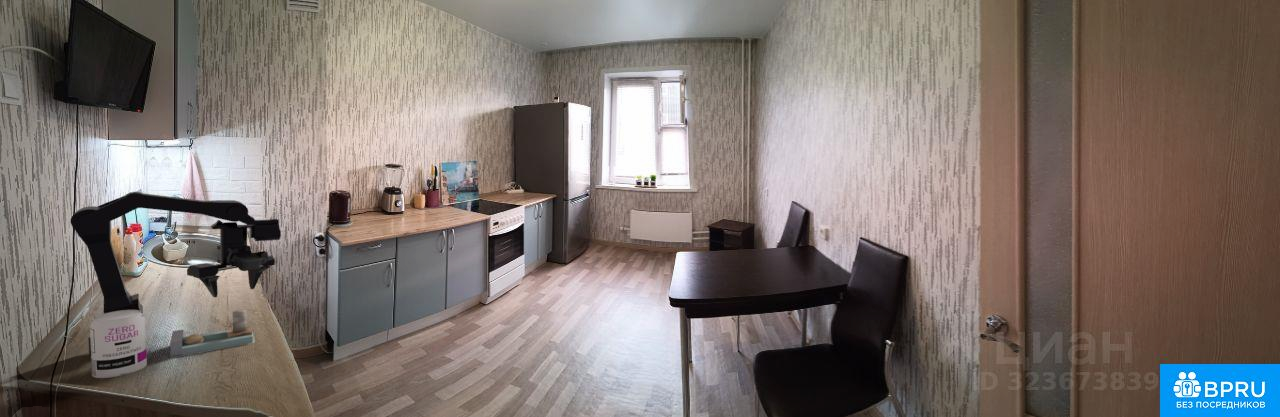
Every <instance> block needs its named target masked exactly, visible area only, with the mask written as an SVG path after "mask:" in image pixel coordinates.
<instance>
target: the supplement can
mask: <svg viewBox="0 0 1280 417" xmlns="http://www.w3.org/2000/svg"><path fill="white" fill-rule="evenodd" d="M146 318H147V317H146V315H145V314H144V313H141V311H140V310H121V311H114V312H109V313H105V314H104V313H103V314H99V315H97V316H95V317H94V318H93V320H92V322H90V325H89V337H90V340H91V357H90V358H91V360H90V361H91V376H92V377H93V378H96V379H106V378H108V379H109V378H116V377H120V376H125V375H129V374H131V373H134V372H138V371H140V370H142V369H144V368H145V367H146V366H147V365H148V354H147V353H148V352H147V351H148V350H147V348H148V347H147V324H146Z"/></svg>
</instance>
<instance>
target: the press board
mask: <svg viewBox="0 0 1280 417" xmlns="http://www.w3.org/2000/svg"><path fill="white" fill-rule="evenodd" d="M227 330H228V329H226V330H220V331H219V330H218V331H213V332H207V333H201V334H199V335H201V336H202V337H203V342H202V343H200V344H194V345H188V346H185V344H184V346H182V355H181V356H175V357H171V356H170V359H174V358H179V357H184V356H190V355H195V354H196V355H197V354H200V353H206V352H211V351H218V350H223V349H229V348H234V347H240V346H246V345H249V344H255V343H256V340H255V336H254V335H255V334H254V331H253V330H252V335H246V336H240V337H234V338H229V339H227ZM187 337H188V336H184V341H185V339H186V338H187Z"/></svg>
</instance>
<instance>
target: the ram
mask: <svg viewBox="0 0 1280 417" xmlns="http://www.w3.org/2000/svg"><path fill="white" fill-rule="evenodd" d="M226 330H227V339H229V338H234V337H240V336H246V335H252V331H253V330H252V326H251V325H250V326H247V309H235V310H233V311H232V329H226Z"/></svg>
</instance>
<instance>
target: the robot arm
mask: <svg viewBox="0 0 1280 417" xmlns="http://www.w3.org/2000/svg"><path fill="white" fill-rule="evenodd" d="M137 209H149V210H159V211H169V212H175V213H176V212H178V213H185V214H186V213H187V214H196V215H204V216H208V217H212V218H215V219H217V220H216V221H215V222H214V223H213V224H211V225H210V228H211V229H212V230H220V232H219V233H220V234H219V235H220V236H219V238H220V239H219V243H220V244H219V245H217V246H216V249H217V250H220V251H219V252H220V255H219V256H220V257H219V258H218V259H216V261H217V262H216V263H218V264H211V263H206V262H203V263H198V264H191V265H189V267H187V269H186V275H187V276H189V277H193V278H196V279H199V280H200V281H201V282H202V284H204V286H205V287H206V289H207V290H208V292H209V293H210V295H211V296H212V297H213V298H218V293H219V292H218V280H219V278H220V275H218V274H219V272H221V271H226V270H232V269H239V271H240V272H241V271H242V272H247V276H248V285H249V289H250V290H254V289H255V288H256V286H257V284H258V282H259V279H260V277H261V276H262V274H263V272H265V271H266V270H267V269H271V266H275V265H276V259H275V257H274V255H273V256H271V255H269V253H268V252H267V251H265V250H262V251H257V252H252V247H251V245H249V244H248V234H249V238H250V239H253V240H254V242H267V241H279V240H281V235H282V234H281V233H282V231H281V229H280V228H281V226H280V223H279V219H278V218H270V219H255V218H254V217H253V216H250V215H249V209H248V207H247V206H246V205H245V204H243V203H242V201H239V200H232V199H229V200H226V199H222V200H221V199H218V200H217V199H216V200H215V199H213V200H199V199H194V198H193V199H191V198H184V197H183V198H182V197H175V196H170V195H169V196H167V195H159V194H152V193H151V194H150V193H145V192H140V191H132V192H131V191H130V192H128V193H126V194H125V195H123V196H121V197H117V198H115V199H112V200H110V201H107V202H105V203H102V204H100V205H98V206H94V205H93V206H86V207H85V206H84V207H82V208H79V209H78V210H77V211H76V212H74V213H73V215H72V216H71V218H70V224H71V227H72V228H73V229H74V231H75V232H76V234H77V236H78V237H79V238H80V239H81V240H82V241H83V244H85V246H86V247H87V249H88V253H89V257H90V259H91V263H92V265H93V267H94V268H93V269H94V272H95V275H96V278H97V280H98V284H99V287H100V289H101V290H100V291H101V293H102V296H103V314H105V313H109V312H114V311H121V310H140V311H141V313H142V314H144V309H143V308H144V305H142V304H141V303H140V299H139V298H140V295H139V293H135V294H133V295H131V294H130V292H129V291H128V290H127V288H126V285H125V282H124V278H123V275H122V273H121V269H120V266H119V263H118V260H117V256H116V253H115V249H114V247H113V243H112V221H114V220H116V219H118V218H121V217H123V216H124V215H127V214H129V213H131V212H132V211H135V210H137ZM221 220H224V221H227V222H223V221H221ZM238 222H241V223H243V224H238ZM248 230H249V231H248ZM87 341H88V357H90V358H91V340H90V336H89V337H88V340H87Z"/></svg>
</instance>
